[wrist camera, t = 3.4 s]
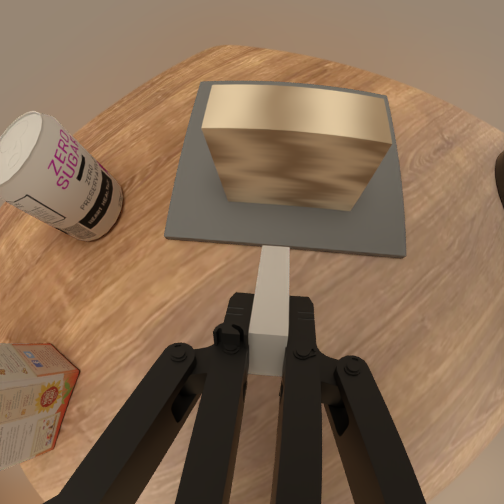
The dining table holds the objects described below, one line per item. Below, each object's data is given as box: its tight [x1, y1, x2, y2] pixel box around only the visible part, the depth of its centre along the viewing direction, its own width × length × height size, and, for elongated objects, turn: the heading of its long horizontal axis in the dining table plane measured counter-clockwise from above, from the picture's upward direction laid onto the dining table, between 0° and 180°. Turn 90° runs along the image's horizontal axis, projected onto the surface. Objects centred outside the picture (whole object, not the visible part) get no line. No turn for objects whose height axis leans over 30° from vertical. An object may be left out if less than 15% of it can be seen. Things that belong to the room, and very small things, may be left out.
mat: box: [164, 81, 406, 258], centre depth 30 cm, size 24×21×1 cm
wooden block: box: [201, 84, 392, 211], centre depth 23 cm, size 12×4×12 cm, turn 84°
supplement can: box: [0, 111, 123, 241], centre depth 24 cm, size 8×8×15 cm
